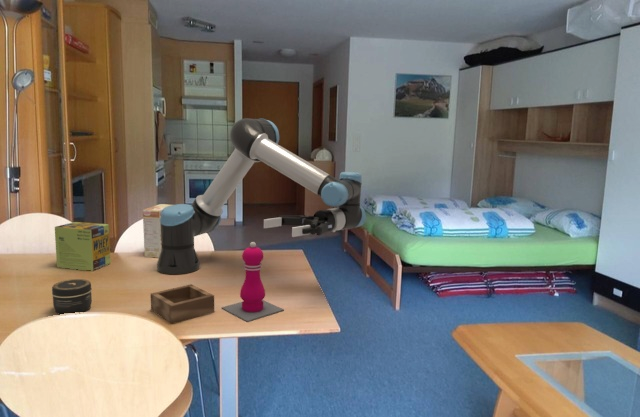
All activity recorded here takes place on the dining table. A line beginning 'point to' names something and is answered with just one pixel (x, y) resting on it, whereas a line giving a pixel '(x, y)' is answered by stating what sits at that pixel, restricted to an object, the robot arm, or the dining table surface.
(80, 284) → the jar
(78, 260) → the protein box
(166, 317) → the walnut box
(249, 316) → the mat
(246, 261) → the pepper mill
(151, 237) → the coffeecake box
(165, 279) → the dining table surface
